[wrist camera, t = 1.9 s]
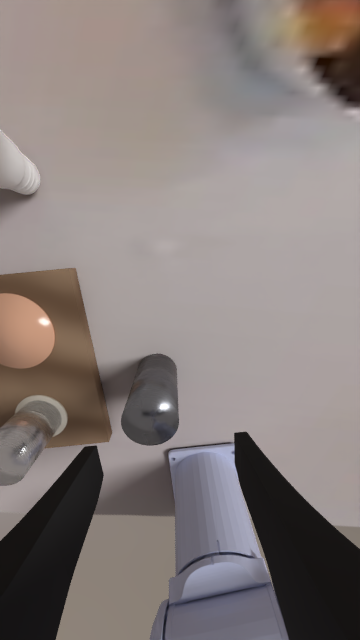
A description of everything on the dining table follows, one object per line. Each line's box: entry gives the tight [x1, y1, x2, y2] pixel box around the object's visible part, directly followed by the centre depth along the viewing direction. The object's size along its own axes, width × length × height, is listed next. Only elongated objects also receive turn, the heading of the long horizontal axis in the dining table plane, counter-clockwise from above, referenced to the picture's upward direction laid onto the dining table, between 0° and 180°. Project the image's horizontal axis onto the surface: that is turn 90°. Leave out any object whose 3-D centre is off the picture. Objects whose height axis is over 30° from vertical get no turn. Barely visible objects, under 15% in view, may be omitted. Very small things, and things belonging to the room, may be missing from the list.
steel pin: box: [121, 354, 179, 445], centre depth 17 cm, size 4×4×7 cm
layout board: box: [0, 268, 112, 486], centre depth 17 cm, size 18×12×6 cm, turn 5°
